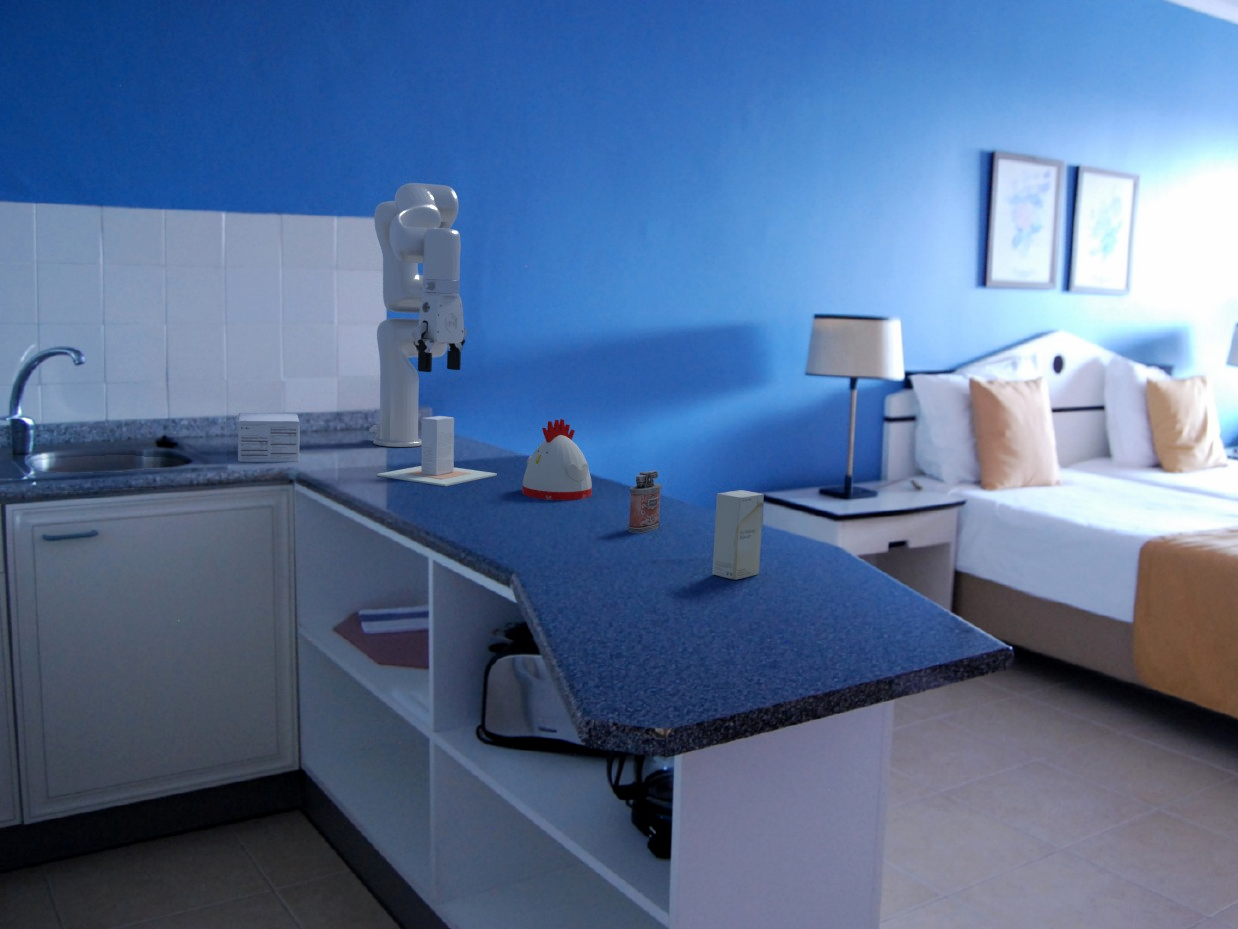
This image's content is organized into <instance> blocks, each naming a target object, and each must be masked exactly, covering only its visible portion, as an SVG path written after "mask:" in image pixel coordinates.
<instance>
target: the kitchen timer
mask: <svg viewBox="0 0 1238 929" xmlns="http://www.w3.org/2000/svg"><path fill="white" fill-rule="evenodd" d="M541 428H542V429H541V430H542V433H543V435H544V440H543V441H542V442H541V443H540V444H539V445H538V446H537V447H536V449H534V452H533V453H532V455H529V457H528V458H527V461H526V469H525V472H524V474H523V479H522V487H521V493H522V494H523V495H524V496H526V497H529V498H534V499H541V500H550V501H575V500H583V499H587V498H590V497H591V496H592V490H593V488H592V487H593V484H592V478H591V474H590V469H589V463H588V462H587V460H586V457H585V455H584V454H583V452H582V450H581V449H580V448H579V446H578V445H577V443H575V442H574V441H573V438H574V435H575V431H576V430H575V429H570V428H571V424H568V423H566V424H565V419H562V418H560V420H559V419H554V423H553V421H552V420H548V421H547V428H546V427H541Z"/></svg>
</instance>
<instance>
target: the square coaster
mask: <svg viewBox="0 0 1238 929" xmlns="http://www.w3.org/2000/svg"><path fill="white" fill-rule="evenodd" d="M497 474H498V473H495V472H488V471H482V470H481V471H480V470H475V469H470V468H469V469H468V468H460V467H455V466H454V472H451V473H446V474H442V475H437V476H434V475H428V474H422V473H421V465H419V466H414V467H412V466H411V467H407V468H403V469H396V470H392V471H386V472H380V473H377V474H376V476H377V477H381V478H387V479H395V480H401V481H406V482H407V481H409V482H413V483H414V482H416V483H420V484H426V485H428V484H429V485H433V486H434V485H435V486H441V487H448V486H453V485H459V484H462V483H463V484H464V483H468V482H472V481H476V480H477V481H478V480H480V479H481V480H482V479H486V478H491V477H495V476H497Z"/></svg>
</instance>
